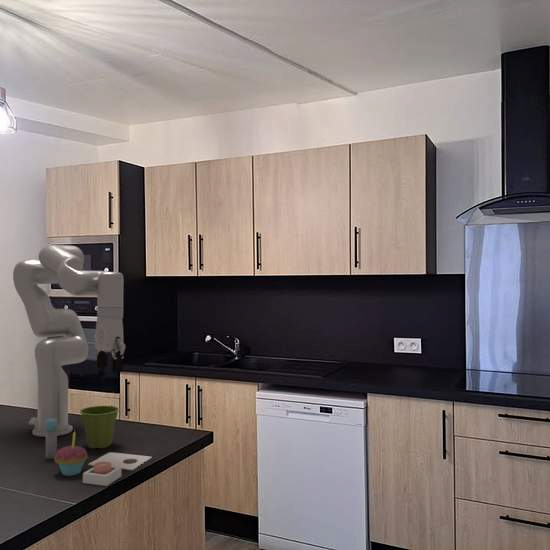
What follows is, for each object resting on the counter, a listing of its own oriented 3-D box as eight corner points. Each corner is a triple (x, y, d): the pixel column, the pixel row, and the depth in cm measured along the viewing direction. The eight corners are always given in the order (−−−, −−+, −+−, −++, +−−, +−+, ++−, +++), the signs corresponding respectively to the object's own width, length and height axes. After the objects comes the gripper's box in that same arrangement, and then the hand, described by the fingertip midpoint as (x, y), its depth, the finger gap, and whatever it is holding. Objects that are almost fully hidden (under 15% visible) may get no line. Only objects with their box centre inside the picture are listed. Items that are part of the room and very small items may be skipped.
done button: (90, 475, 149) (90, 466, 149) (99, 470, 153) (99, 460, 153) (105, 477, 147) (105, 468, 147) (114, 472, 152) (114, 462, 152)
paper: (88, 465, 161) (88, 463, 161) (109, 453, 172) (109, 451, 172) (132, 470, 157) (132, 469, 157) (151, 457, 168) (152, 456, 168)
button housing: (82, 483, 148) (82, 473, 148) (98, 473, 155) (98, 464, 155) (106, 486, 146) (106, 476, 146) (121, 476, 153) (121, 467, 153)
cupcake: (93, 472, 155) (93, 428, 155) (63, 481, 149) (64, 434, 149) (77, 465, 161) (77, 422, 161) (48, 472, 155) (48, 428, 155)
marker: (43, 458, 166) (43, 420, 166) (50, 455, 169) (50, 418, 169) (52, 459, 165) (52, 421, 165) (59, 456, 168) (59, 418, 168)
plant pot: (126, 441, 183) (126, 406, 183) (105, 453, 172) (106, 415, 171) (93, 438, 186) (94, 403, 186) (71, 449, 175) (71, 412, 175)
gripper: (85, 311, 177) (85, 367, 177) (112, 315, 164) (111, 375, 164) (108, 310, 182) (107, 364, 182) (135, 314, 169) (134, 372, 169)
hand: (109, 369), depth 173 cm, fingers open, 9 cm apart
